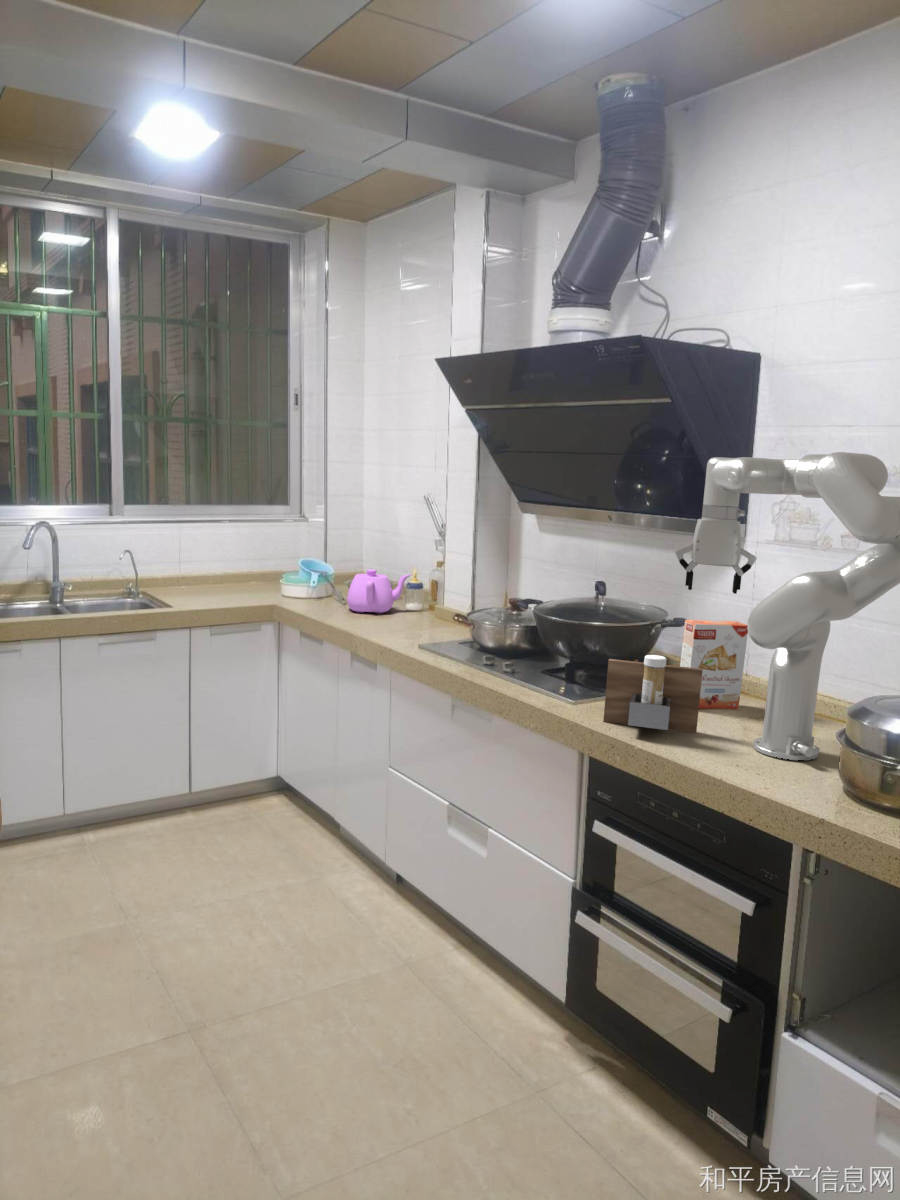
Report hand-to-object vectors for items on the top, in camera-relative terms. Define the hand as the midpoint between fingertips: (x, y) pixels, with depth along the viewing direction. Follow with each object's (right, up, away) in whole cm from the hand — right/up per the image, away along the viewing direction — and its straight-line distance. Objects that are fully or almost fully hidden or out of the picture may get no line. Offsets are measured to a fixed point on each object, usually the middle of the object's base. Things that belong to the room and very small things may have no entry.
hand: (712, 591), depth 203 cm
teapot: (-87, -6, +126) cm, 153 cm away
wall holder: (-16, -30, -7) cm, 35 cm away
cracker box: (+4, -28, +18) cm, 33 cm away
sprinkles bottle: (-16, -27, -9) cm, 33 cm away
